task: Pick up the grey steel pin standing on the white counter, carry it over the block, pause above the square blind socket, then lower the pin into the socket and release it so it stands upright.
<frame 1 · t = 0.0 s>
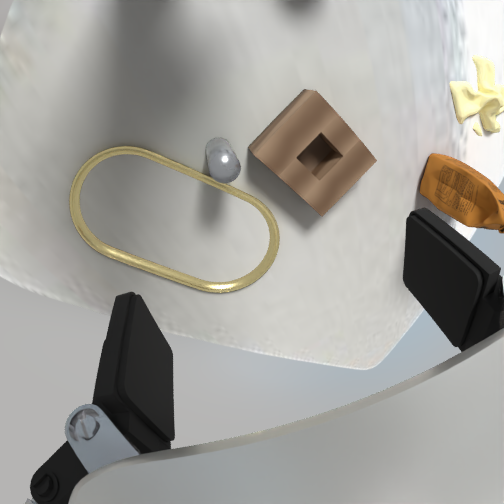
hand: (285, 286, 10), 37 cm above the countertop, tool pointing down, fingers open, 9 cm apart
coffee package: (440, 178, 53), on the countertop
cloth: (483, 102, 46), on the countertop
wavy rubber band: (175, 222, 49), on the countertop
pin: (218, 149, 44), on the countertop
bore block: (308, 148, 46), on the countertop
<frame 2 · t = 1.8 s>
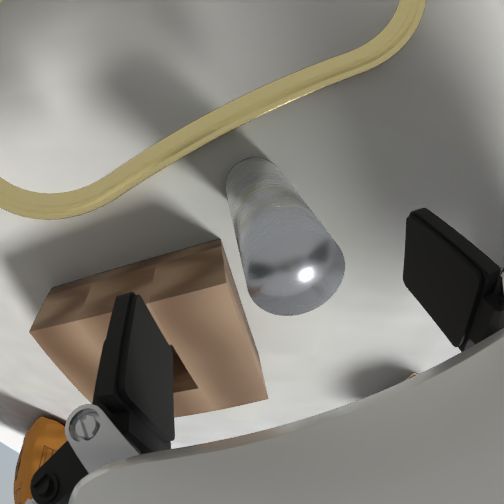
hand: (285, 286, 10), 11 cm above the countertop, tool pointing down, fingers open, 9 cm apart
coffee package: (57, 432, 33), on the countertop
pin: (254, 185, 20), on the countertop
bore block: (157, 326, 24), on the countertop
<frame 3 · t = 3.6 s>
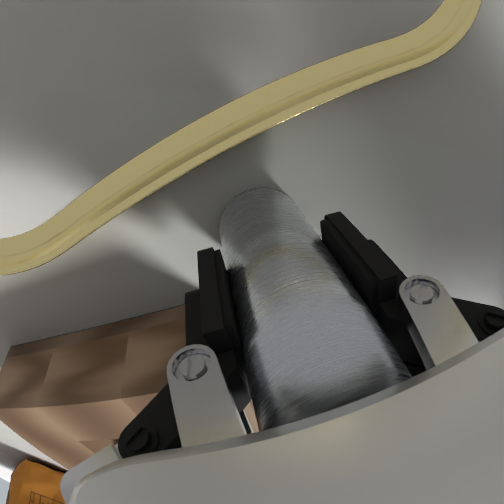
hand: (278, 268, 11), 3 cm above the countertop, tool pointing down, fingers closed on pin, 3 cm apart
coffee package: (45, 471, 27), on the countertop
pin: (260, 226, 14), on the countertop, touching gripper
bore block: (140, 389, 19), on the countertop
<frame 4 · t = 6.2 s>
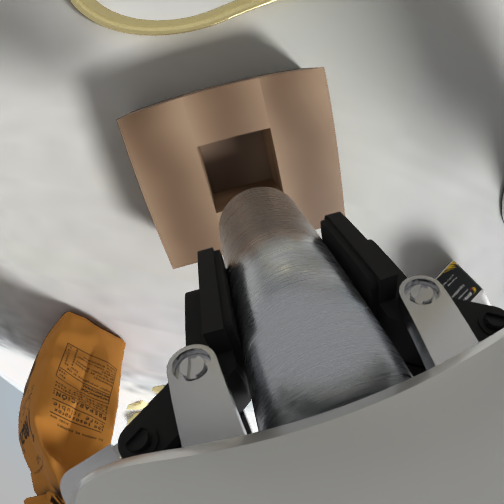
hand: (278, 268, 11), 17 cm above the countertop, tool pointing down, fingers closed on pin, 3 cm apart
coffee package: (79, 344, 34), on the countertop
medicine bottle: (442, 287, 39), on the countertop
pin: (260, 225, 14), point 14 cm above the countertop, touching gripper
bore block: (234, 154, 26), on the countertop
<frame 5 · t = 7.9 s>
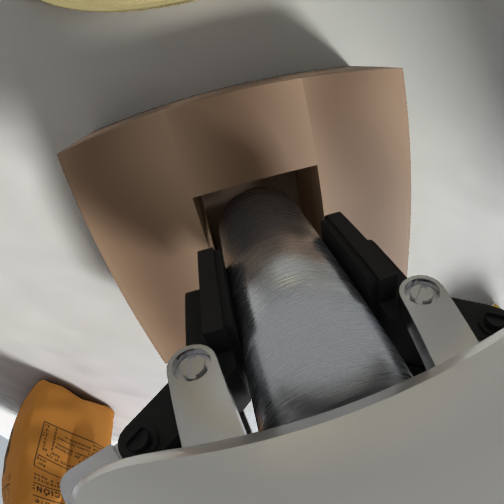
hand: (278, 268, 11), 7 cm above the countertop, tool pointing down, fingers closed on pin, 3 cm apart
coffee package: (62, 407, 26), on the countertop
pin: (260, 225, 14), point 4 cm above the countertop, touching gripper
bore block: (249, 193, 18), on the countertop
when the fingers open (6 cm above the countertop, at t = 8.8 s): pin drops 1 cm, resting on bore block.
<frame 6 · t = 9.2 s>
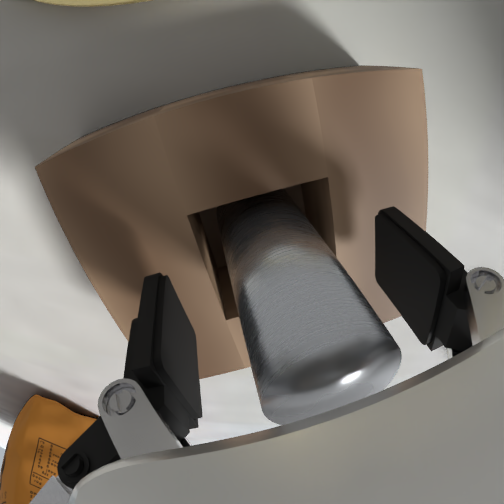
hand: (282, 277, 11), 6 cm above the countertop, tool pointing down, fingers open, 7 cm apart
coffee package: (57, 420, 24), on the countertop
pin: (254, 212, 15), point 1 cm above the countertop, touching bore block
bore block: (250, 204, 16), on the countertop
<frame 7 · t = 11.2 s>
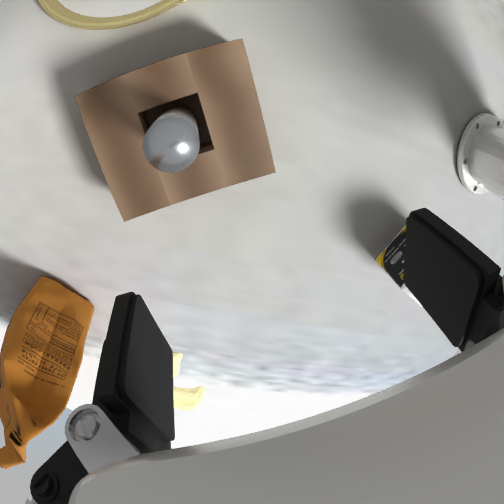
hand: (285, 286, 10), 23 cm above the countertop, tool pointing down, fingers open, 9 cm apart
coffee package: (54, 311, 36), on the countertop
cloth: (143, 388, 47), on the countertop
medicine bottle: (402, 250, 42), on the countertop
pin: (177, 124, 27), point 1 cm above the countertop, touching bore block
bore block: (177, 122, 28), on the countertop
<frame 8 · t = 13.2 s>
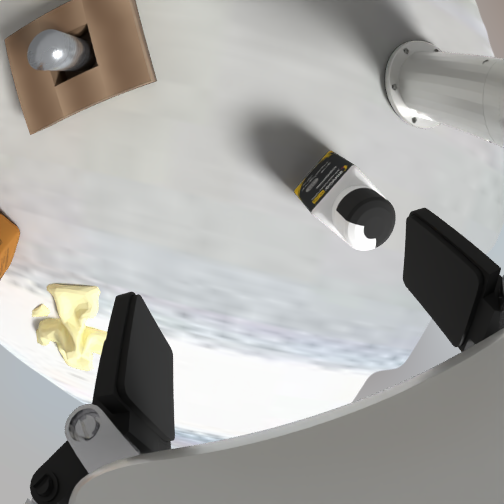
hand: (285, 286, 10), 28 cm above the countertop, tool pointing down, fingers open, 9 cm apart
cloth: (71, 330, 46), on the countertop
medicine bottle: (328, 185, 40), on the countertop
pin: (82, 56, 25), point 1 cm above the countertop, touching bore block
bore block: (85, 56, 26), on the countertop
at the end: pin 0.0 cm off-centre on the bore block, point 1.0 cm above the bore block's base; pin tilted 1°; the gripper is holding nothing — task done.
